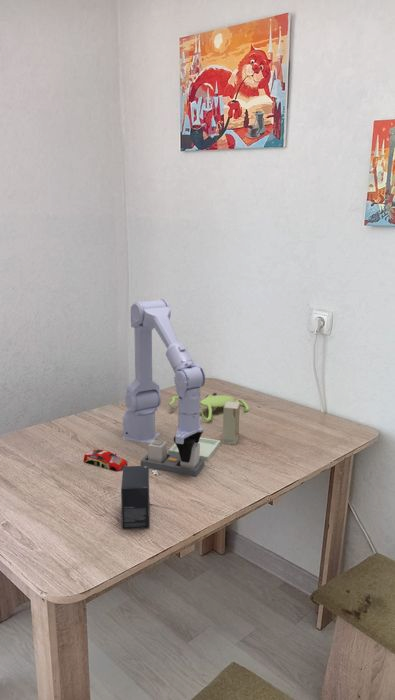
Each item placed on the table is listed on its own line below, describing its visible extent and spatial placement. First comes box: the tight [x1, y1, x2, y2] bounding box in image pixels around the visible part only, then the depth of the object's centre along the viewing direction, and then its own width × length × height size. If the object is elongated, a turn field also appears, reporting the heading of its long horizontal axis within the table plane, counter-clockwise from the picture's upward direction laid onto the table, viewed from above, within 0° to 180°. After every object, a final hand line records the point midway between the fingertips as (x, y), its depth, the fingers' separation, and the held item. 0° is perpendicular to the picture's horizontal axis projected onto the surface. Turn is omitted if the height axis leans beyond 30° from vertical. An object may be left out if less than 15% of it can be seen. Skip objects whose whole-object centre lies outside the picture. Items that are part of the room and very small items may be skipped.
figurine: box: [168, 392, 250, 424], centre depth 197 cm, size 18×27×6 cm
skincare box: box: [221, 401, 241, 446], centre depth 170 cm, size 6×4×12 cm
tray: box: [167, 436, 222, 462], centre depth 165 cm, size 12×12×2 cm
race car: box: [83, 449, 128, 473], centre depth 155 cm, size 13×5×4 cm, turn 61°
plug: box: [180, 442, 200, 469], centre depth 152 cm, size 4×4×6 cm
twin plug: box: [147, 439, 168, 463], centre depth 155 cm, size 4×4×6 cm
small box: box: [120, 465, 151, 530], centre depth 130 cm, size 11×6×10 cm, turn 5°
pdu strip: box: [140, 452, 206, 478], centre depth 154 cm, size 16×7×3 cm, turn 70°
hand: (188, 458), depth 152 cm, fingers closed on plug, 4 cm apart
